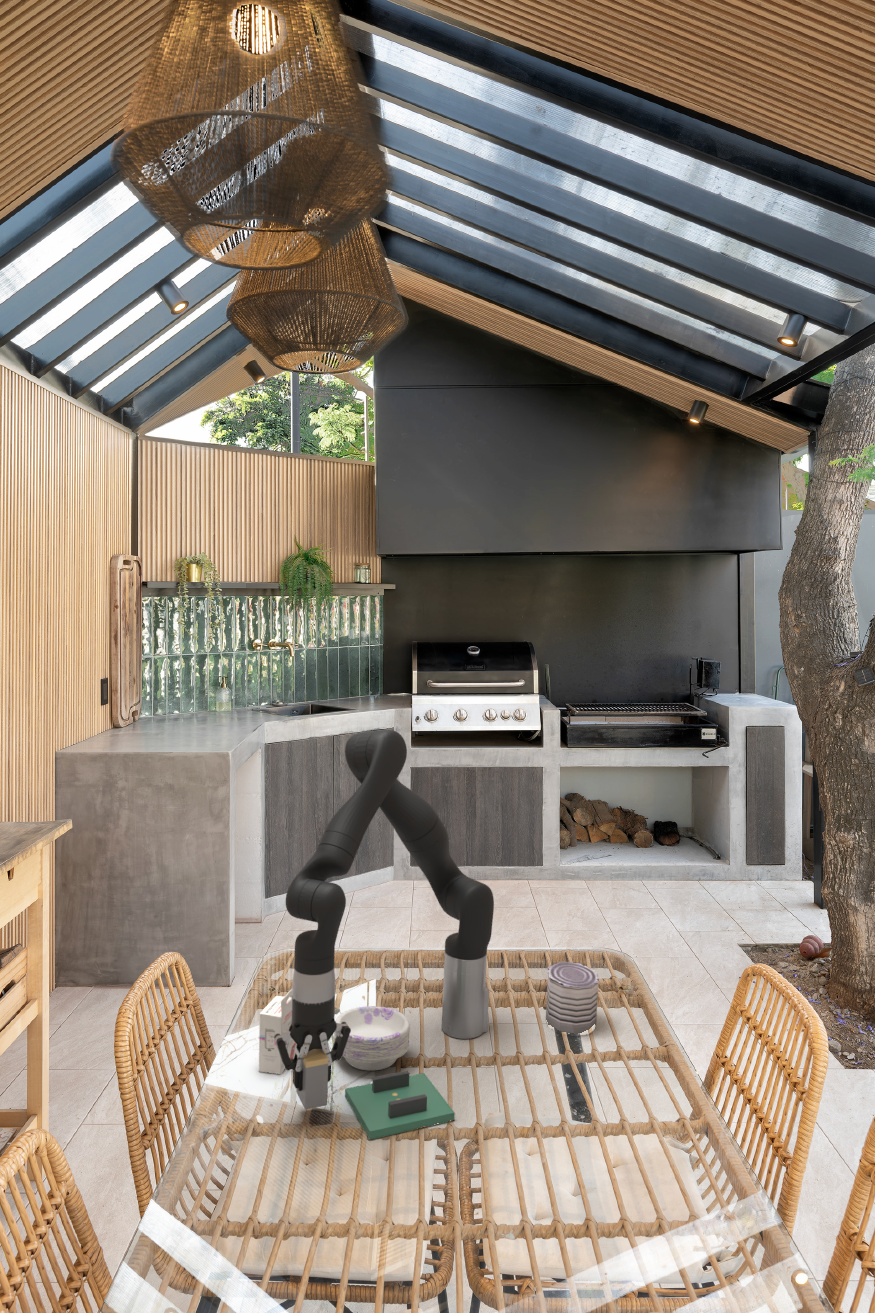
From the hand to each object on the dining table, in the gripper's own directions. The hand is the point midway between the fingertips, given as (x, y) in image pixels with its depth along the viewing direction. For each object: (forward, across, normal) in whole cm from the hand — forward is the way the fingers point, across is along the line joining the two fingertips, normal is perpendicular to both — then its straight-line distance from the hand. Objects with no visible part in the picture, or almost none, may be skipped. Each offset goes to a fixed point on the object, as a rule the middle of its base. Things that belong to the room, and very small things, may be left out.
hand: (311, 1085), depth 151 cm
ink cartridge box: (+6, +1, -20) cm, 21 cm away
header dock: (+6, -16, +3) cm, 17 cm away
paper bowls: (+6, -17, -15) cm, 23 cm away
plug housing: (+2, 0, 0) cm, 2 cm away
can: (+7, -64, -14) cm, 66 cm away
